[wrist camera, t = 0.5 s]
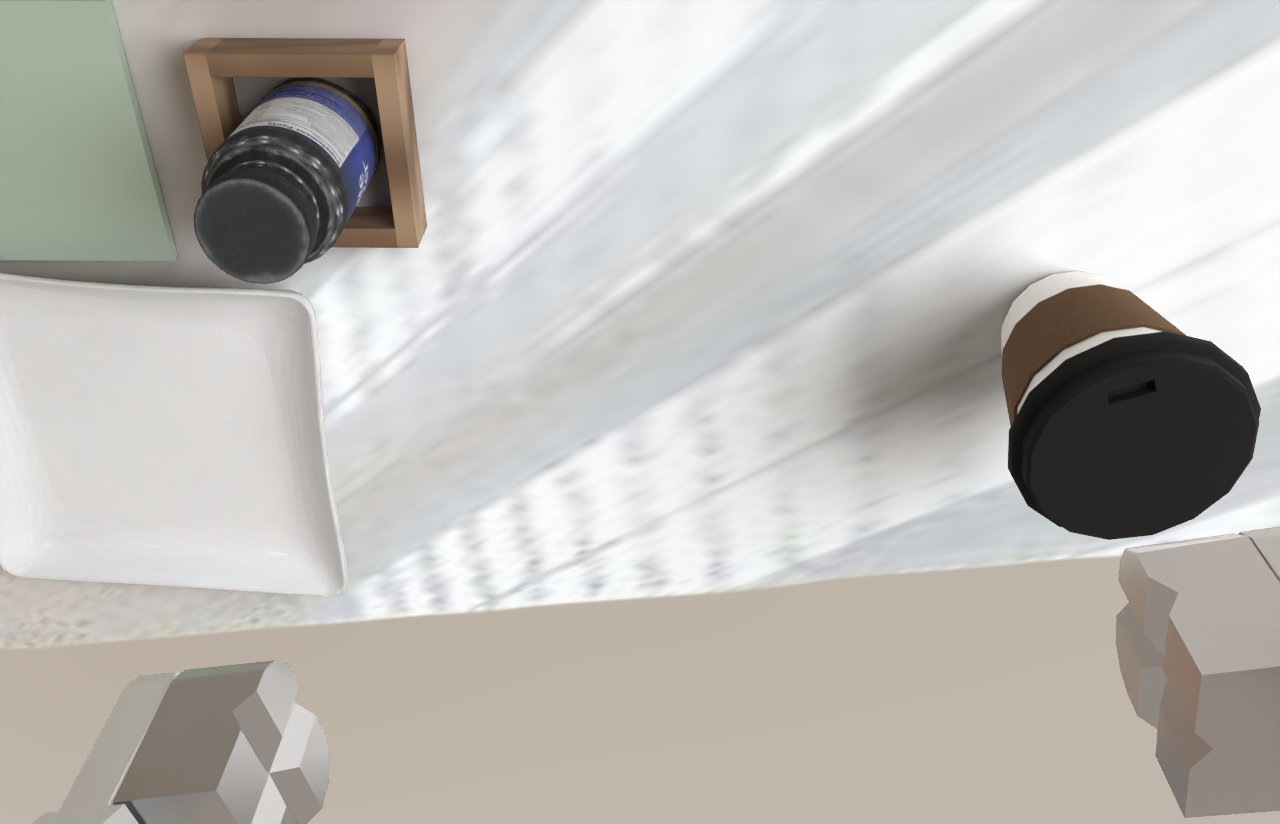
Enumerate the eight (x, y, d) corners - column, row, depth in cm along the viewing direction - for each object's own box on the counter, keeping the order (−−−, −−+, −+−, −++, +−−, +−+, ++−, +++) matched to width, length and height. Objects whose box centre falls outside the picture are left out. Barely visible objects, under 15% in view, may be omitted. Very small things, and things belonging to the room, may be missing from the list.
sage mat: (-173, -4, 50) (-181, -1, 50) (110, -3, 50) (104, 1, 50) (-70, 254, 58) (-76, 259, 57) (178, 256, 58) (174, 261, 57)
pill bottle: (343, 218, 56) (282, 326, 47) (234, 146, 54) (148, 245, 45) (406, 126, 54) (354, 222, 44) (294, 46, 51) (215, 131, 42)
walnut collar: (202, 38, 51) (183, 54, 49) (404, 39, 51) (394, 55, 49) (243, 224, 57) (227, 246, 55) (426, 226, 56) (418, 247, 54)
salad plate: (25, 546, 70) (-1, 583, 67) (-79, 238, 58) (-117, 268, 55) (363, 564, 70) (350, 602, 67) (328, 262, 58) (311, 293, 55)
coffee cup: (937, 266, 57) (995, 394, 47) (1156, 198, 55) (1264, 318, 45) (977, 428, 63) (1036, 572, 53) (1176, 373, 61) (1277, 513, 51)
